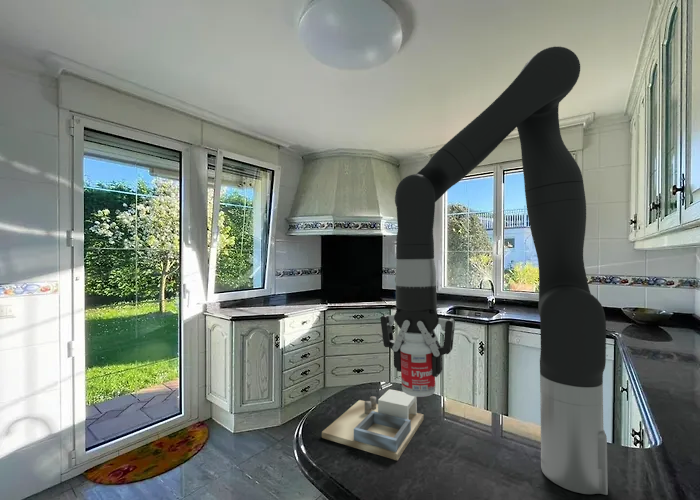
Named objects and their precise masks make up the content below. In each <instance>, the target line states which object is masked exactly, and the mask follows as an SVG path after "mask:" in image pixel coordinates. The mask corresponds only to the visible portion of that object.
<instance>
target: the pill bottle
mask: <svg viewBox="0 0 700 500" xmlns="http://www.w3.org/2000/svg"><path fill="white" fill-rule="evenodd" d="M404 340H405V342H404V343H403V344H402V345H401V348H400V353H401V373H400V374H401V379H400V380H401V389H402V390H401V391H402V392H404V393H406V394H408V395H410V396H415V397H417V398H423V397H424V398H425V397H429V396H432V395H434V394H435V392H436V377H433V368H432V356H433V353H432V351H431V349H430V347H429V345H427V343H426V341H425V339H424V337H423V335H422V333H410V332H407V333H405V336H404Z"/></svg>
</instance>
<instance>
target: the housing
mask: <svg viewBox="0 0 700 500" xmlns="http://www.w3.org/2000/svg"><path fill="white" fill-rule="evenodd" d="M417 398H418V397H415V396H410V395H408V394H406V393H404V392H403V391H402V390H401V391H400V390H395V389H390V388H389V389H388V390H387V391H386V392H384V393H383V394H382V395H381V396H380V398H378V399H377V404H378V412H379V413H383V414H387V415H392V416H396V417H400V418H404V419H408V420H409V414H413V415H416V414H417V413H418V407H417V406H418V405H417V403H418V399H417Z"/></svg>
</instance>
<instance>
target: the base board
mask: <svg viewBox="0 0 700 500" xmlns="http://www.w3.org/2000/svg"><path fill="white" fill-rule="evenodd" d="M424 416H425V415H424V414H422V413H419V412H417V414H416V415H413V414H409V420H408V419H404V418H400V417H396V416H392V415H387V414H383V413H379V412H378V403H377V396H373V395H372V396H370V397H369V400H361V399H359V400H358V401H356V402H355V403H354V404H353V405H352V406H350V407H349V408H348V409H347V410H346V411H345V412H343V414H340V416H339V417H337V418H336V419H335V420H334V421H333V422H331V423H330V424H329V425H328V426H327V427H326V428H324V429H323V430H322V431H321V438H322V439H325V440H327V441H331V442H335V443H338V444H341V445H345V446H347V447H351V448H354V449H358V450H361V451H365V452H368V453H371V454H373V455H378V456H381V457H384V458H388V459H391V460H394V461H399V459H400V457H401V456H402V455H403V452H404V451H405V449H406V448H407V446H408V445H409V443H410V442H411V440H412V439H413V437H414V436H415V434H416V432H417V431H418V429H419V428H420V426H421V425H422V423H423V421H424Z"/></svg>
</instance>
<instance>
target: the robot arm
mask: <svg viewBox="0 0 700 500" xmlns="http://www.w3.org/2000/svg"><path fill="white" fill-rule="evenodd" d="M578 57H579V56H578V55H577V54H576V53H575V52H574V51H573V50H571V49H569V48H567V47H564V46H549V47H547V48H544V49H542V50H539V52H537V53H535V54H534V55H533V56H532V57H531V58H530V59H529V60H528V61H527V62H526V63H525V65H524V66H523V67H522V69H521V71H519V74H518V75H517V76H516V78H514V80H513V81H511V83H510V84H509V85H508V86H507V88H506V89H505V90H503V92H502V93H501V94H499V96H497V98H496V99H495V100H494V101H493V102H491V103H490V104H489V106H488V107H487V108H485V109H484V110H483V111H482V112H481V113H480V114H479V115H478V116H476V117H474V119H472V121H470V122H469V123H468V124H467V125H466V126H465V127H463V128H462V129H461V130H460V131H459V132H458V133H456V134H455V135H454V136H452V138H451V139H450V140H449V141H446V143H445V144H444V145H443V146H442V147H440V149H438V150H437V151H436V152H435V153H434V154H433V155H432V157H431V158H430V159H429V160H428V162H427V164H425V166H424V167H422V168H421V169H420V170H419V171H418V172H417V173H413V174H409V175H407V176H406V177H404V178H402V180H400V182H399V183H398V185H397V186H396V189H395V194H394V195H395V196H394V203H395V206H396V219H397V220H396V221H397V222H396V223H397V233H396V242H395V243H396V244H395V245H396V246H395V248H396V249H395V250H396V252H395V253H396V254H395V255H396V258H395V259H396V263H395V275H394V276H395V277H394V282H395V308H396V310H395V311H396V312H395V313H394V314H388V313H386V314H384V315H382V316H380V325H381V327H380V328H381V334H382V335H381V336H382V341H383V343H382V344H383V346H384V347H385V348H389V349H391V350H392V352H393V367H394V369H396V372H401V353H400V348H401V345H402V344H403V343H404V342H405V340H404V336H405V333H407V332H410V333H422V335H423V337H424V339H425V341H426V343H427V345H429V347H430V349H431V351H432V353H433V356H432V368H433V377H435V378H437V377H439V375H441V374H442V371H443V355H444V356H445V355H449V354H450V353H451V351H452V350H453V346H454V337H455V336H454V335H455V327H456V326H455V325H456V321H455V319H454V318H452V317H451V318H449V319H448V318H443V317H440V315H439V314H438V308H437V307H438V306H437V305H438V304H437V302H438V301H437V269H436V265H435V263H436V262H435V241H434V225H435V224H434V222H435V212H436V211H435V209H436V203H437V201H438V200H440V198H441V197H443V196H444V195H445V193H446V192H447V191H448V190H450V189H451V188H452V187H454V186H455V185H456V184H458V183H459V182H461V180H462V179H464V178H465V177H466V176H468V175H469V173H471V172H472V171H473V170H474V169H476V168H477V166H479V165H480V164H481V163H482V162H483V161H484V160H486V158H487V157H488V156H489V155H490V154H492V153H493V151H494V150H495V149H496V148H497V147H499V145H500V144H501V143H502V142H503V141H504V140H505V139H506V138H507V137H508V136H509V135H510V134H511V133H512V132H513V131H514V130H516V128H517V134H518V137H519V142H520V143H519V144H520V149H521V150H520V152H521V164H522V172H523V183H524V196H525V203H526V210H527V218H528V222H529V228H530V232H531V236H532V242H533V245H534V248H535V251H536V252H535V253H536V257H537V263H538V264H537V265H538V304H537V305H538V306H537V307H538V309H537V310H538V315H539V317H540V319H539V321H540V322H539V323H540V324H539V325H540V327H539V328H540V329H539V330H540V332H539V333H540V355H539V356H540V357H539V385H540V386H539V388H540V389H539V391H540V392H539V394H540V395H539V396H540V397H539V399H540V401H539V403H540V407H539V408H540V467H541V471H542V473H543V475H544V476H545V477H546V478H547V479H548V480H550V481H551V482H552V483H554V484H556V485H557V486H559V487H561V488H563V489H565V490H568V491H571V492H574V493H579V494H583V495H595V494H597V495H598V494H601V495H605V496H607V495H609V492H608V486H609V485H608V483H609V482H608V443H607V442H608V438H607V433H606V432H605V429H604V428H605V427H604V387H603V386H604V384H603V383H604V382H603V381H604V371H605V369H606V360H607V358H606V357H607V356H606V355H607V353H606V352H607V323H606V321H607V320H606V314H605V310H604V307H603V305H602V303H601V302H600V301H599V299H597V297H596V296H594V294H592V293H591V290H590V287H589V283H588V278H587V273H586V268H585V262H584V261H585V260H584V246H585V236H586V225H587V201H586V200H587V199H586V192H585V183H584V179H583V173H582V171H581V169H580V166H579V165H578V162H577V161H576V160H575V158H574V156H573V155H572V153H571V152H570V151H569V149H568V148H567V146H566V145H565V143H564V141H563V138H562V134H561V129H560V121H559V120H560V118H559V117H560V116H559V107H560V103H561V102H562V100H564V99H565V97H566V96H567V95H569V93H570V92H571V91H572V90H573V89H574V88H575V86H576V85H577V82H578V80H579V77H580V74H581V62H580V59H579V58H578ZM394 324H396V325H397V326H398V328H399V331H398V334H397V335H396V338H394V333H393V332H394V331H393V325H394ZM438 325H440V326H441V331H442V332H444V335H443V336H444V337H443V345H441V344H440V341H439V338H438V335H437V334H436V332H435V329H436V327H438ZM394 339H395V340H394Z"/></svg>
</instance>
